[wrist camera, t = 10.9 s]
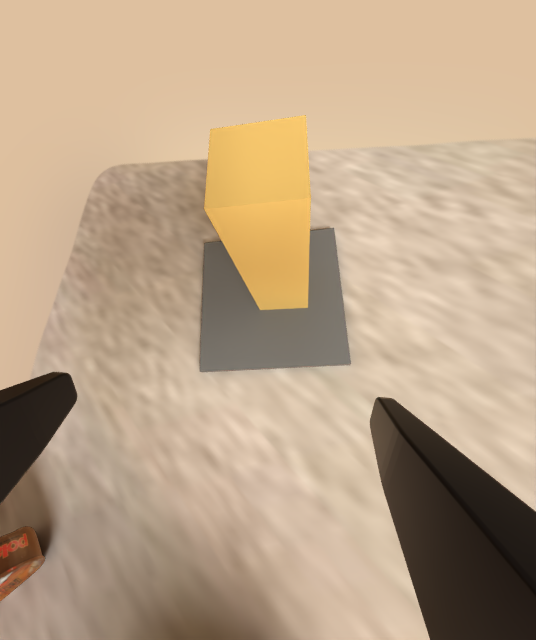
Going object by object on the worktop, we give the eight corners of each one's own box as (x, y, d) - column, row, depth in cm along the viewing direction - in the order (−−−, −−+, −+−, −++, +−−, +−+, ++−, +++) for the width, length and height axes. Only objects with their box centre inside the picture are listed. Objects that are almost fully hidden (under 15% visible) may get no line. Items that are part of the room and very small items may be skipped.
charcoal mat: (333, 231, 23) (333, 227, 23) (349, 364, 20) (350, 364, 19) (206, 246, 25) (204, 242, 24) (202, 372, 22) (199, 371, 21)
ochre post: (307, 307, 21) (310, 197, 9) (259, 310, 22) (204, 208, 10) (305, 264, 22) (305, 115, 10) (260, 267, 23) (210, 129, 11)
